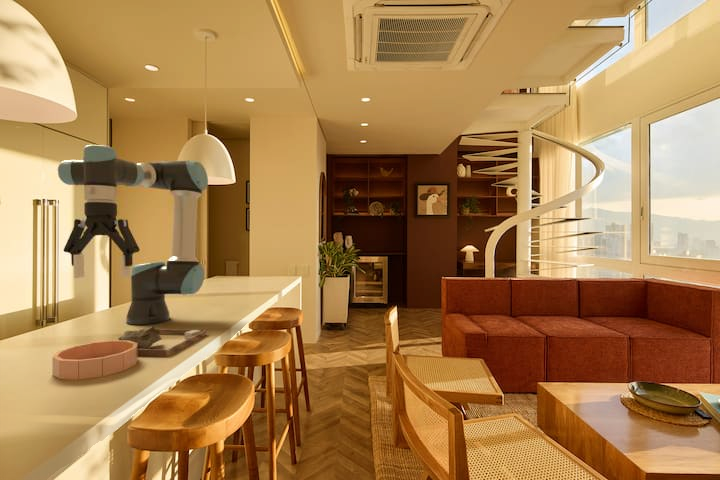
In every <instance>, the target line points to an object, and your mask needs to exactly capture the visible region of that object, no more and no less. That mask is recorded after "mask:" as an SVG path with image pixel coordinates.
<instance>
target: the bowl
mask: <svg viewBox="0 0 720 480" xmlns="http://www.w3.org/2000/svg"><path fill="white" fill-rule="evenodd" d="M138 357H139V356H138V343H135V342H132V341H128V340H118V339H112V340H102V341H93V342H88V343H83V344H78V345H73V346H70V347H67V348H65V349H62V350H59V351H57V352H56V353H55V354H53V356H52V358H51V359H52V360H51V361H52V362H51V363H52V371H51V372H52V374H51V375H52V376H53V377H55V378H56V379H58V380H71V381H72V380H75V381H77V380H78V381H79V380H88V379H95V378H101V377H102V378H103V377H106V376H110V375H113V374H116V373H120V372H124V371H126V370H128V369H130V368H131V367H134V366H136V365H137V363H138V359H139V358H138Z"/></svg>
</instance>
